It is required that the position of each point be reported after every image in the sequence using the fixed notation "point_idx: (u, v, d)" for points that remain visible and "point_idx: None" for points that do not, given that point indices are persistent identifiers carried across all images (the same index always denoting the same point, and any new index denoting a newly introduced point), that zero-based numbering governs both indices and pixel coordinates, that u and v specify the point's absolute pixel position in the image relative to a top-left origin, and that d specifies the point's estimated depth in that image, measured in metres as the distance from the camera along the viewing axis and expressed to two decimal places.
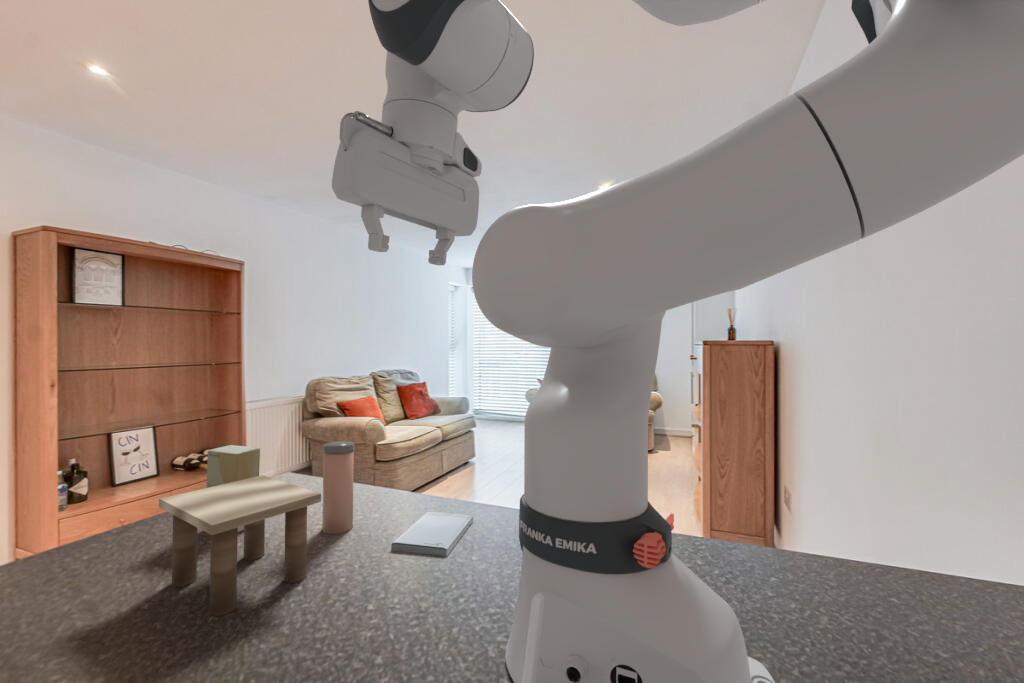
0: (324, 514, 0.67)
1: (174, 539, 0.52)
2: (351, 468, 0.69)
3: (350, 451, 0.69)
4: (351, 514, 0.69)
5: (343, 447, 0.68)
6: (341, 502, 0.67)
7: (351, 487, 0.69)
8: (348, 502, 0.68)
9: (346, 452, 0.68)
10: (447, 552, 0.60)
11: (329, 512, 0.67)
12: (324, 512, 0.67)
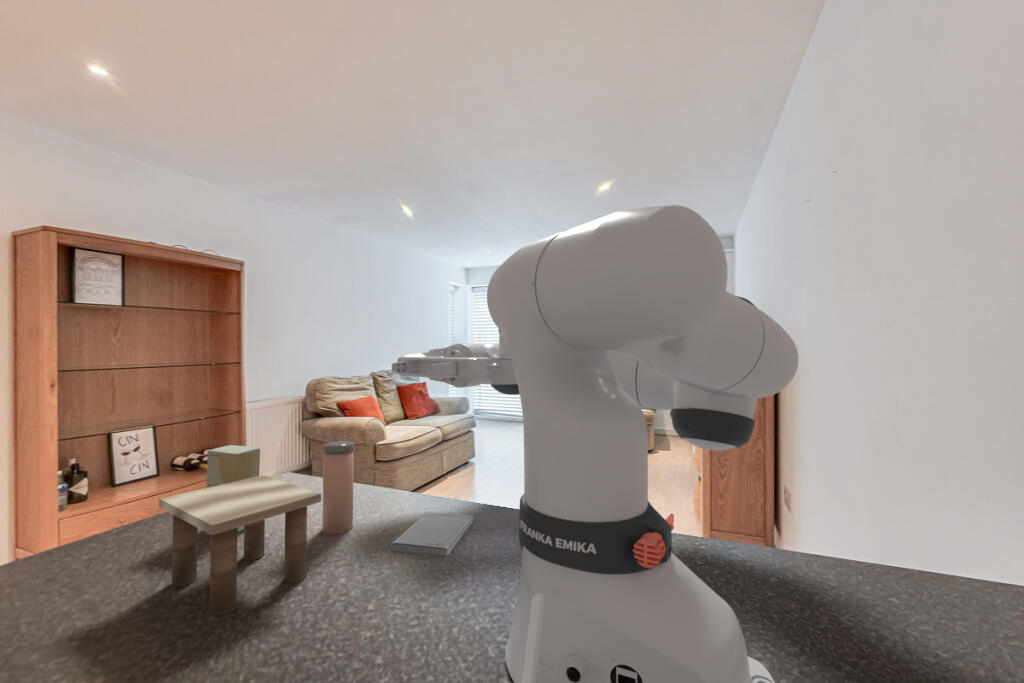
0: (324, 514, 0.67)
1: (174, 539, 0.52)
2: (351, 468, 0.69)
3: (350, 451, 0.69)
4: (351, 514, 0.69)
5: (343, 447, 0.68)
6: (341, 502, 0.67)
7: (351, 487, 0.69)
8: (348, 502, 0.68)
9: (346, 452, 0.68)
10: (447, 552, 0.60)
11: (329, 512, 0.67)
12: (324, 512, 0.67)
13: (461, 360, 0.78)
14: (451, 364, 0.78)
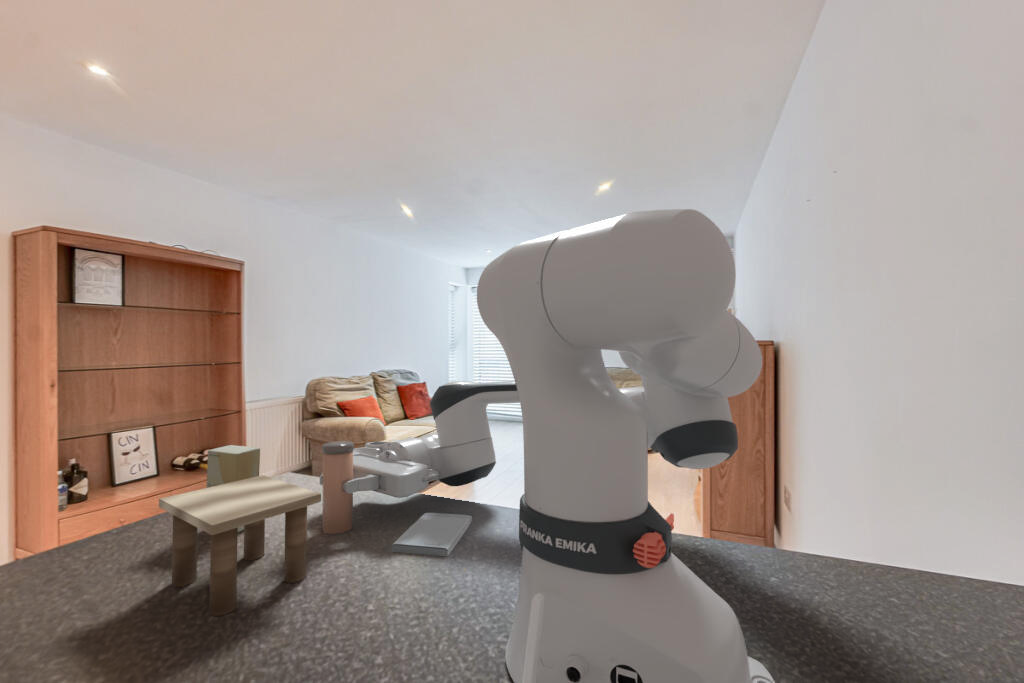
0: (324, 514, 0.67)
1: (174, 539, 0.52)
2: (351, 468, 0.69)
3: (350, 451, 0.68)
4: (351, 514, 0.69)
5: (343, 447, 0.67)
6: (341, 502, 0.67)
7: None
8: (348, 501, 0.68)
9: (346, 452, 0.68)
10: (448, 552, 0.60)
11: (329, 512, 0.67)
12: (324, 512, 0.67)
13: (390, 475, 0.68)
14: (370, 479, 0.69)
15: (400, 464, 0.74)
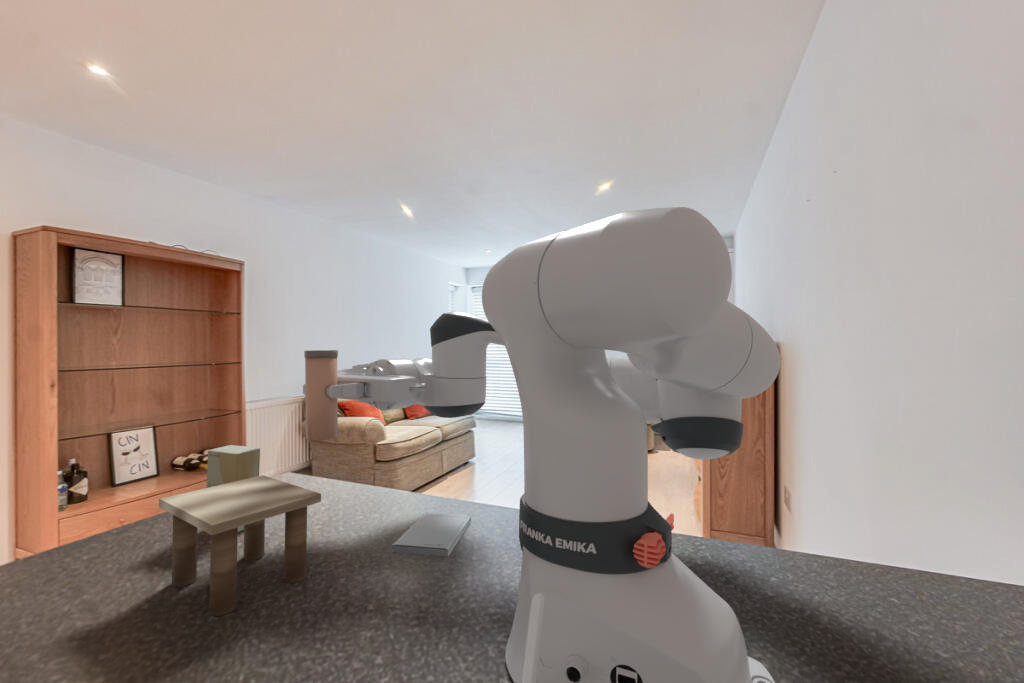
0: (307, 421, 0.65)
1: (174, 539, 0.52)
2: (335, 374, 0.66)
3: (333, 356, 0.66)
4: (336, 422, 0.67)
5: (325, 351, 0.65)
6: (324, 408, 0.65)
7: None
8: (332, 408, 0.66)
9: (329, 356, 0.65)
10: (448, 553, 0.60)
11: (312, 417, 0.65)
12: (307, 418, 0.65)
13: (375, 381, 0.66)
14: (354, 385, 0.66)
15: (387, 377, 0.72)
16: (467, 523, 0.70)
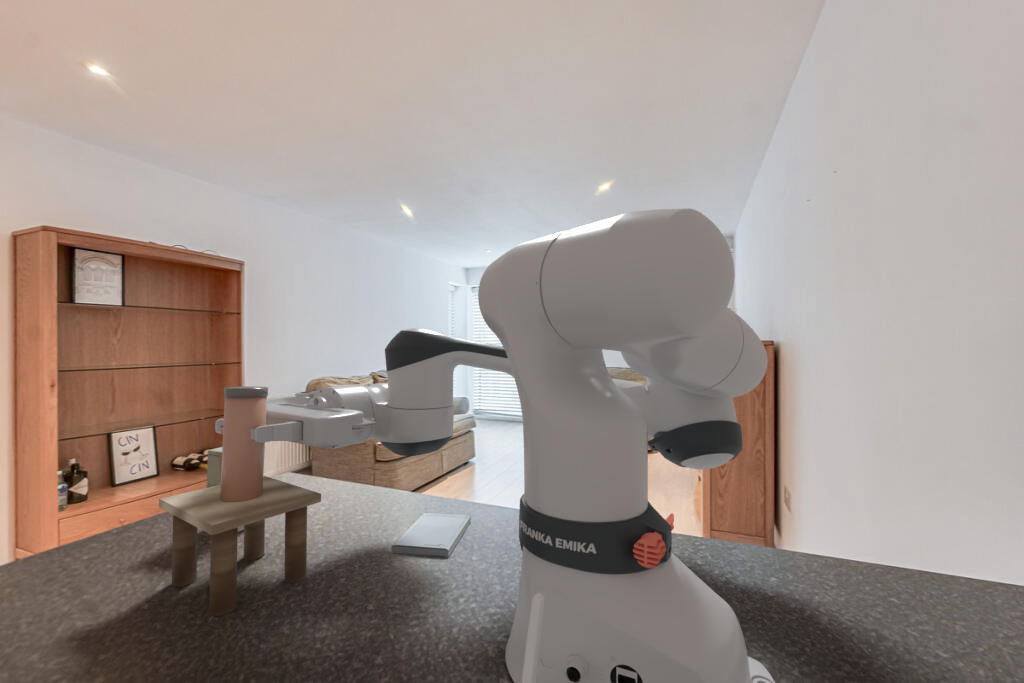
0: (222, 476, 0.52)
1: (174, 539, 0.52)
2: (261, 418, 0.54)
3: (260, 396, 0.53)
4: (259, 478, 0.54)
5: (250, 390, 0.52)
6: (244, 460, 0.52)
7: (260, 443, 0.54)
8: (254, 461, 0.53)
9: (254, 396, 0.53)
10: (449, 553, 0.60)
11: (227, 472, 0.52)
12: (222, 473, 0.52)
13: (307, 419, 0.53)
14: (290, 425, 0.53)
15: (329, 411, 0.59)
16: (467, 523, 0.70)
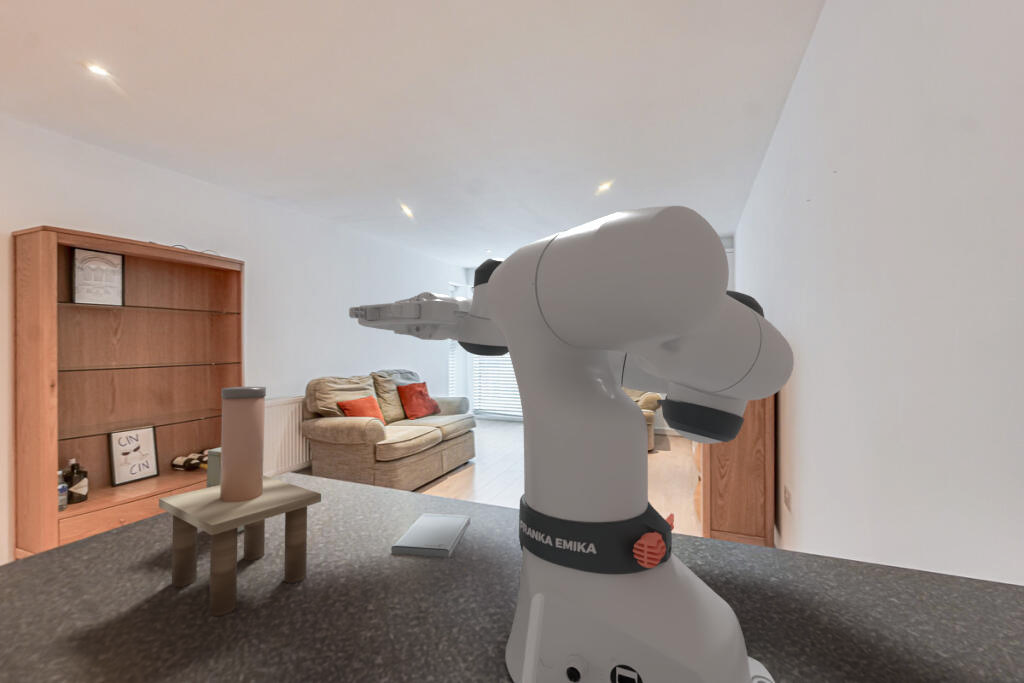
0: (221, 477, 0.52)
1: (174, 539, 0.52)
2: (259, 419, 0.54)
3: (258, 396, 0.53)
4: (259, 478, 0.54)
5: (247, 390, 0.52)
6: (243, 461, 0.52)
7: (259, 443, 0.54)
8: (253, 461, 0.53)
9: (251, 396, 0.53)
10: (449, 553, 0.60)
11: (227, 473, 0.52)
12: (221, 474, 0.52)
13: (424, 302, 0.72)
14: (413, 306, 0.71)
15: None
16: (466, 523, 0.70)
